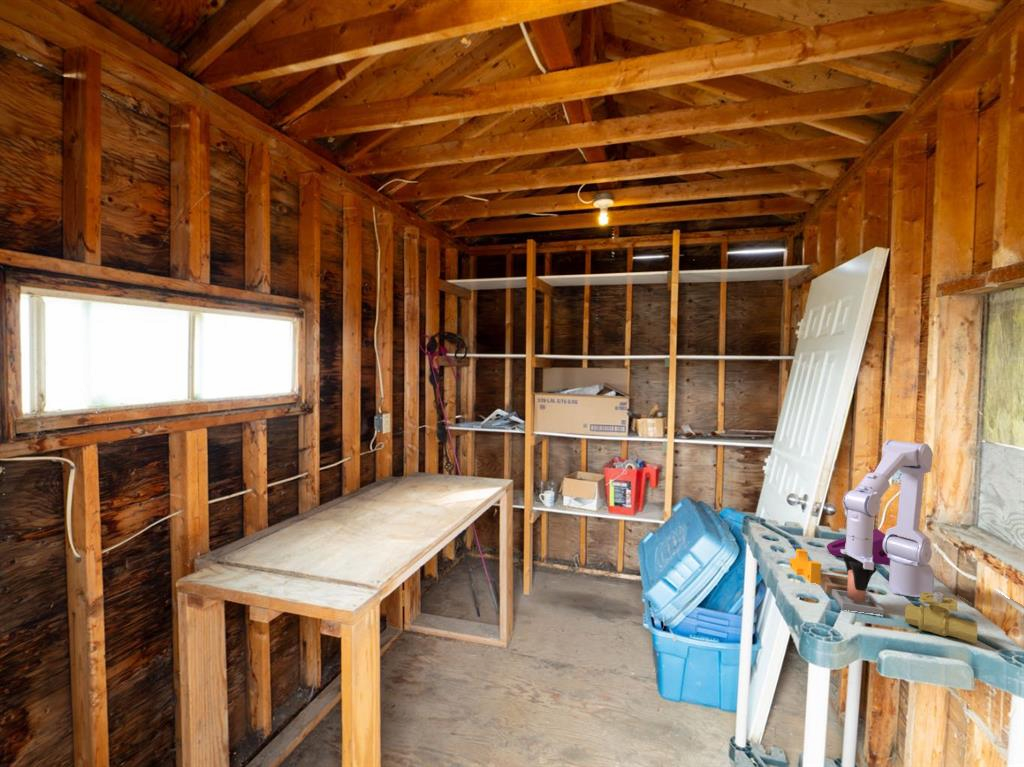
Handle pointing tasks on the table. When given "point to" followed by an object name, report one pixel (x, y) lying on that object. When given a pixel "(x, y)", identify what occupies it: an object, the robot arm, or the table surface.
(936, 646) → the table surface
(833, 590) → the tray
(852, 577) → the plug
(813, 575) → the pipe clamp
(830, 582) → the square frame
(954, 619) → the ball valve
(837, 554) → the mounting bracket
